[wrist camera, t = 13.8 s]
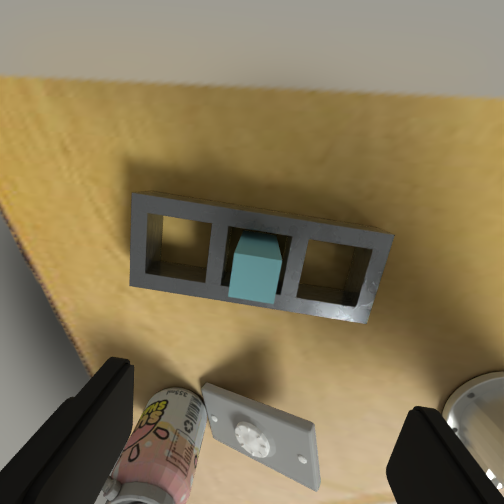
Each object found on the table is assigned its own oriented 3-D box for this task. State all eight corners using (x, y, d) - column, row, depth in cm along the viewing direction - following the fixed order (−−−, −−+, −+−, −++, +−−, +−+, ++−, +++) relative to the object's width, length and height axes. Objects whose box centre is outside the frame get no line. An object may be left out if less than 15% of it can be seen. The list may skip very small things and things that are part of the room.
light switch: (195, 393, 32) (307, 440, 24) (223, 362, 37) (325, 393, 29) (208, 444, 34) (315, 503, 26) (233, 409, 39) (330, 450, 31)
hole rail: (353, 305, 29) (366, 324, 26) (146, 272, 29) (129, 286, 26) (375, 227, 27) (394, 235, 23) (150, 190, 27) (131, 192, 23)
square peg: (270, 266, 29) (273, 303, 20) (238, 261, 29) (228, 296, 20) (276, 235, 28) (282, 260, 19) (243, 229, 28) (234, 252, 19)
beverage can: (173, 444, 37) (132, 566, 25) (130, 407, 35) (65, 519, 23) (221, 413, 35) (201, 529, 23) (178, 372, 33) (133, 475, 22)
